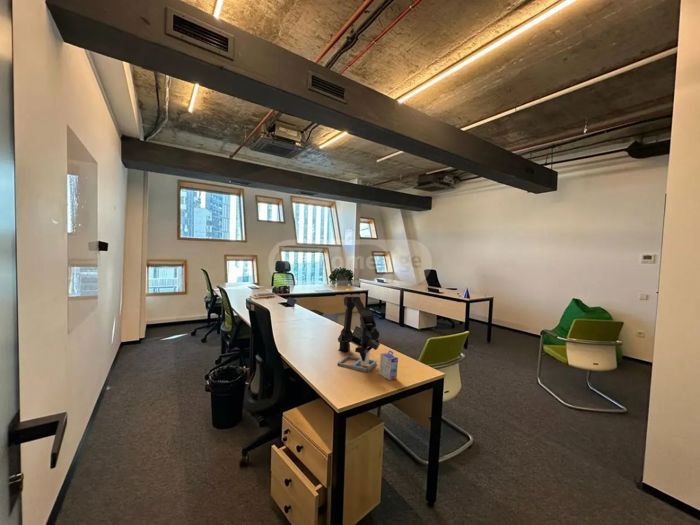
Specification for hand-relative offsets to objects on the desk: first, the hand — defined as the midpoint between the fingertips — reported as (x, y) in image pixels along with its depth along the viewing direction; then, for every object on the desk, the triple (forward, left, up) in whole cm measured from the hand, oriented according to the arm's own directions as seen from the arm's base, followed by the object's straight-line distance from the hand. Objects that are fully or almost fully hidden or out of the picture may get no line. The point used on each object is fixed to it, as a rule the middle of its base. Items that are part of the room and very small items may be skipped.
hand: (364, 359), depth 180 cm
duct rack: (-5, 0, -4) cm, 6 cm away
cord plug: (0, 0, -2) cm, 2 cm away
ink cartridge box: (+17, -6, -4) cm, 19 cm away
